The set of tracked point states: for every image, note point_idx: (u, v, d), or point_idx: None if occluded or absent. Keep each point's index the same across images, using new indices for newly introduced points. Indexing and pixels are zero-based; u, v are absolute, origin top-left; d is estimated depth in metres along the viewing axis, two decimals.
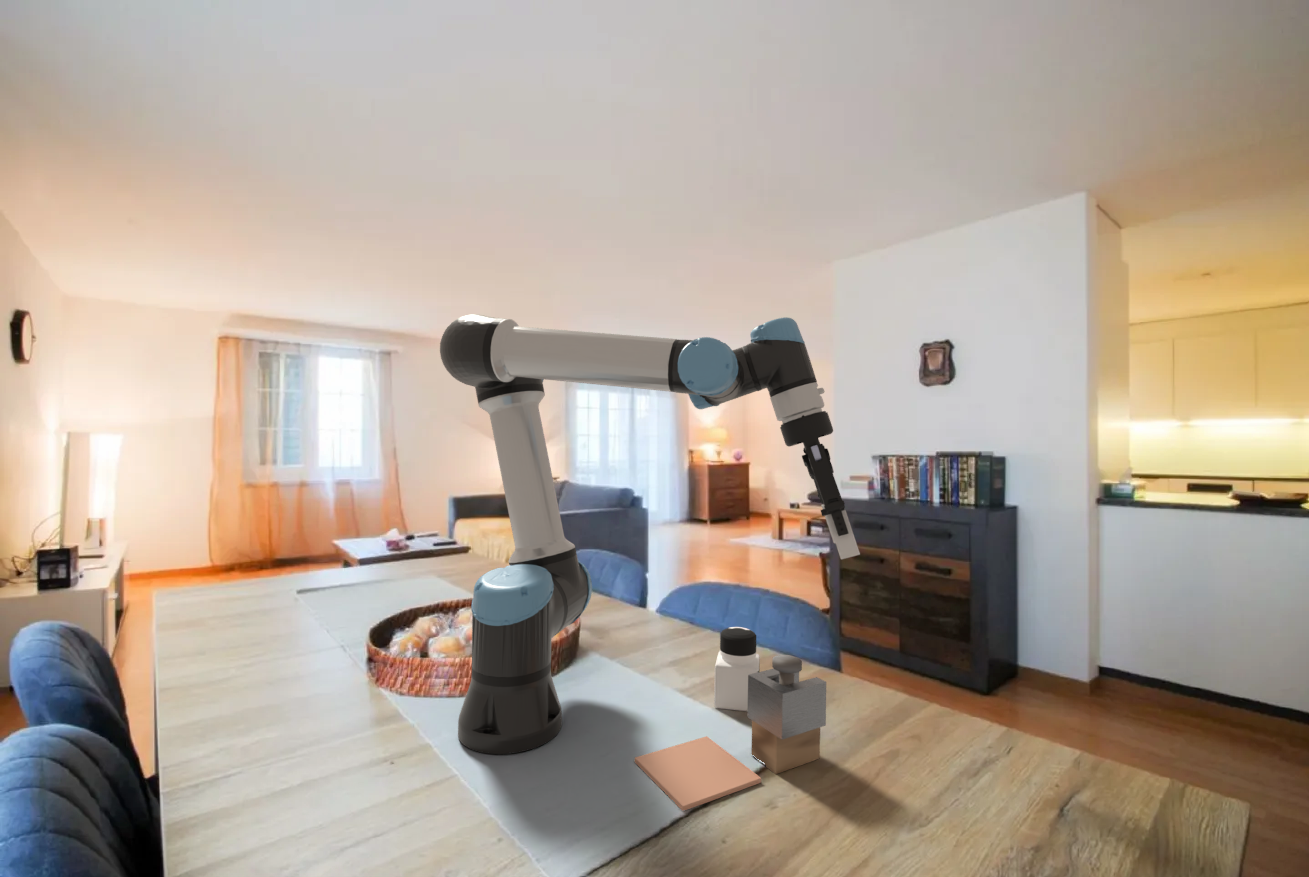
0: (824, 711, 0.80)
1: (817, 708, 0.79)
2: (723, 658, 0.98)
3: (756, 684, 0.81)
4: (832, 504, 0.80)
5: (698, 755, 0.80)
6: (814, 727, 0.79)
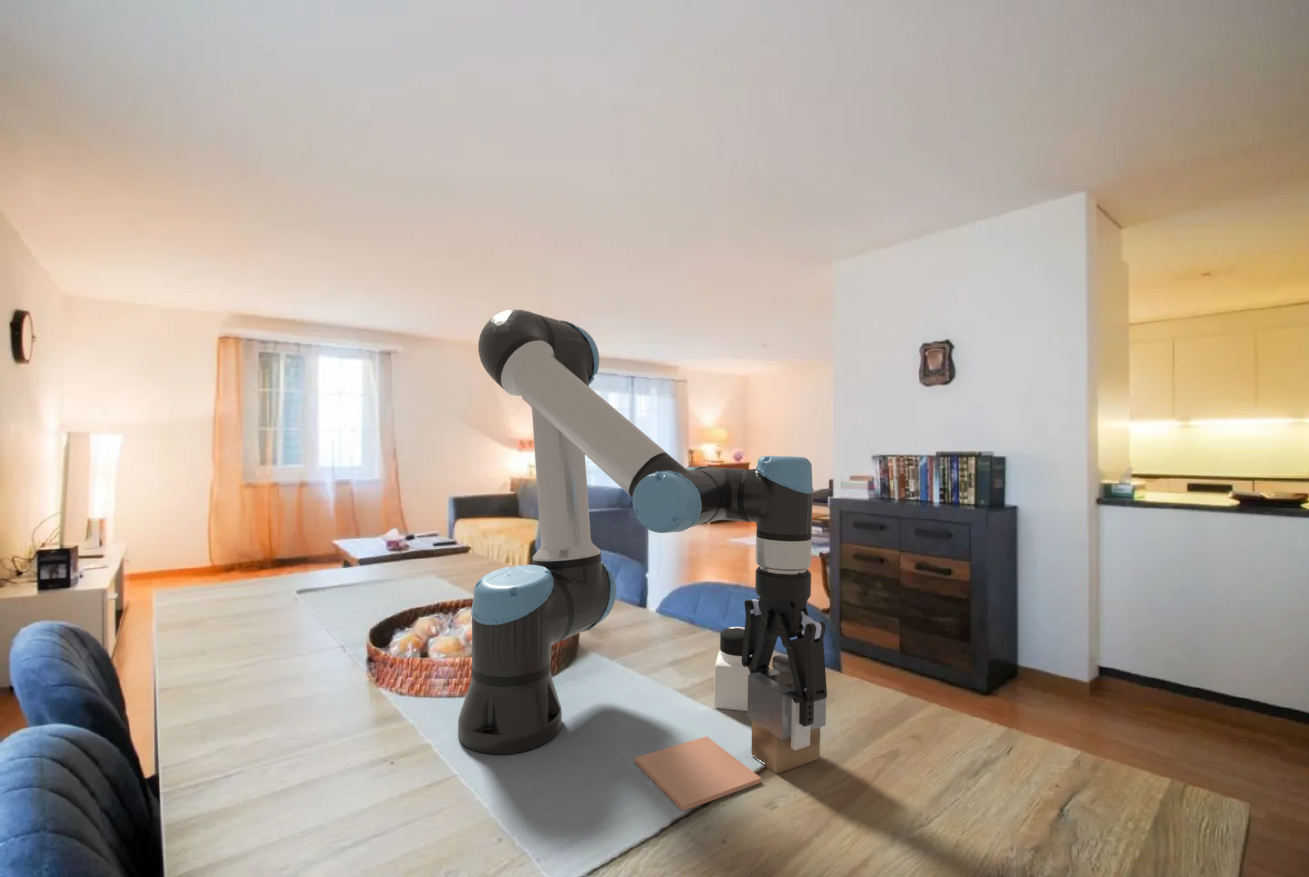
0: (824, 711, 0.80)
1: (817, 708, 0.80)
2: (723, 658, 0.98)
3: (756, 684, 0.81)
4: (818, 697, 0.75)
5: (698, 755, 0.80)
6: (814, 727, 0.79)
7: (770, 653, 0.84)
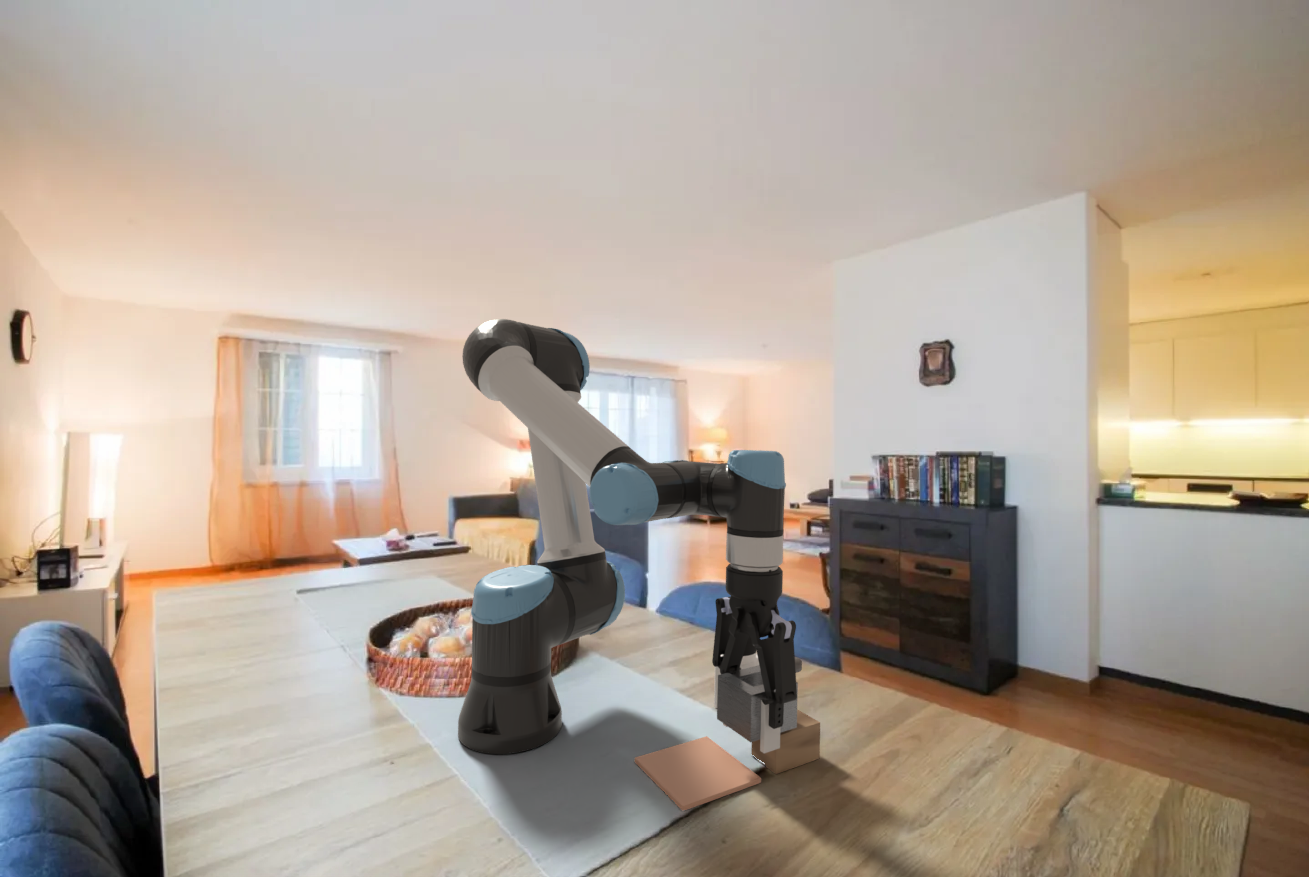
0: (795, 713, 0.78)
1: (788, 710, 0.77)
2: None
3: (726, 685, 0.78)
4: (788, 698, 0.72)
5: (698, 755, 0.80)
6: (785, 729, 0.77)
7: (741, 653, 0.81)
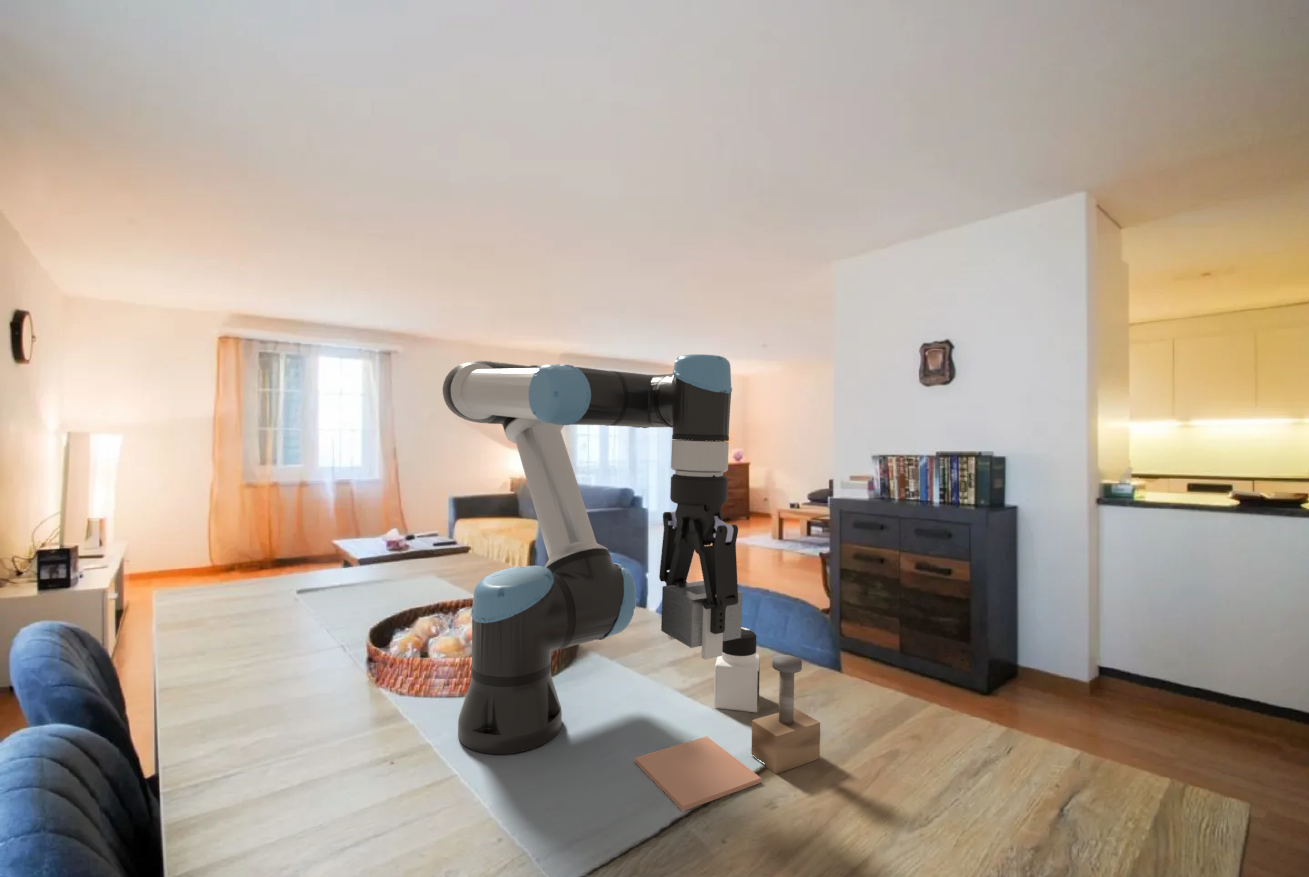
0: (739, 623, 0.77)
1: (731, 619, 0.76)
2: (723, 658, 0.98)
3: (669, 595, 0.77)
4: (728, 601, 0.71)
5: (698, 755, 0.80)
6: (728, 638, 0.76)
7: (687, 566, 0.80)
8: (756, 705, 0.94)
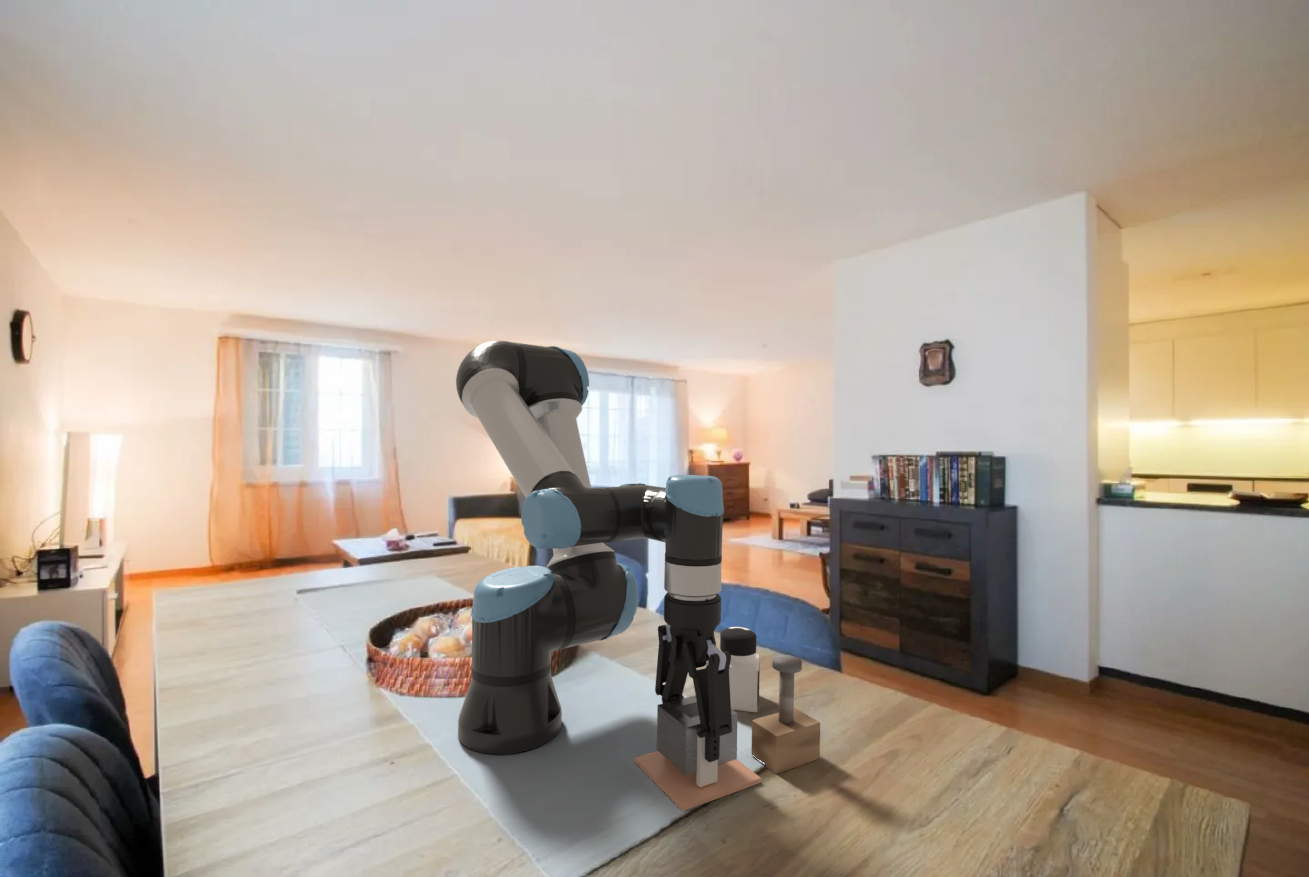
0: (735, 744, 0.76)
1: (726, 741, 0.76)
2: None
3: (664, 716, 0.77)
4: (722, 731, 0.71)
5: None
6: (723, 761, 0.75)
7: (682, 682, 0.80)
8: (756, 705, 0.94)
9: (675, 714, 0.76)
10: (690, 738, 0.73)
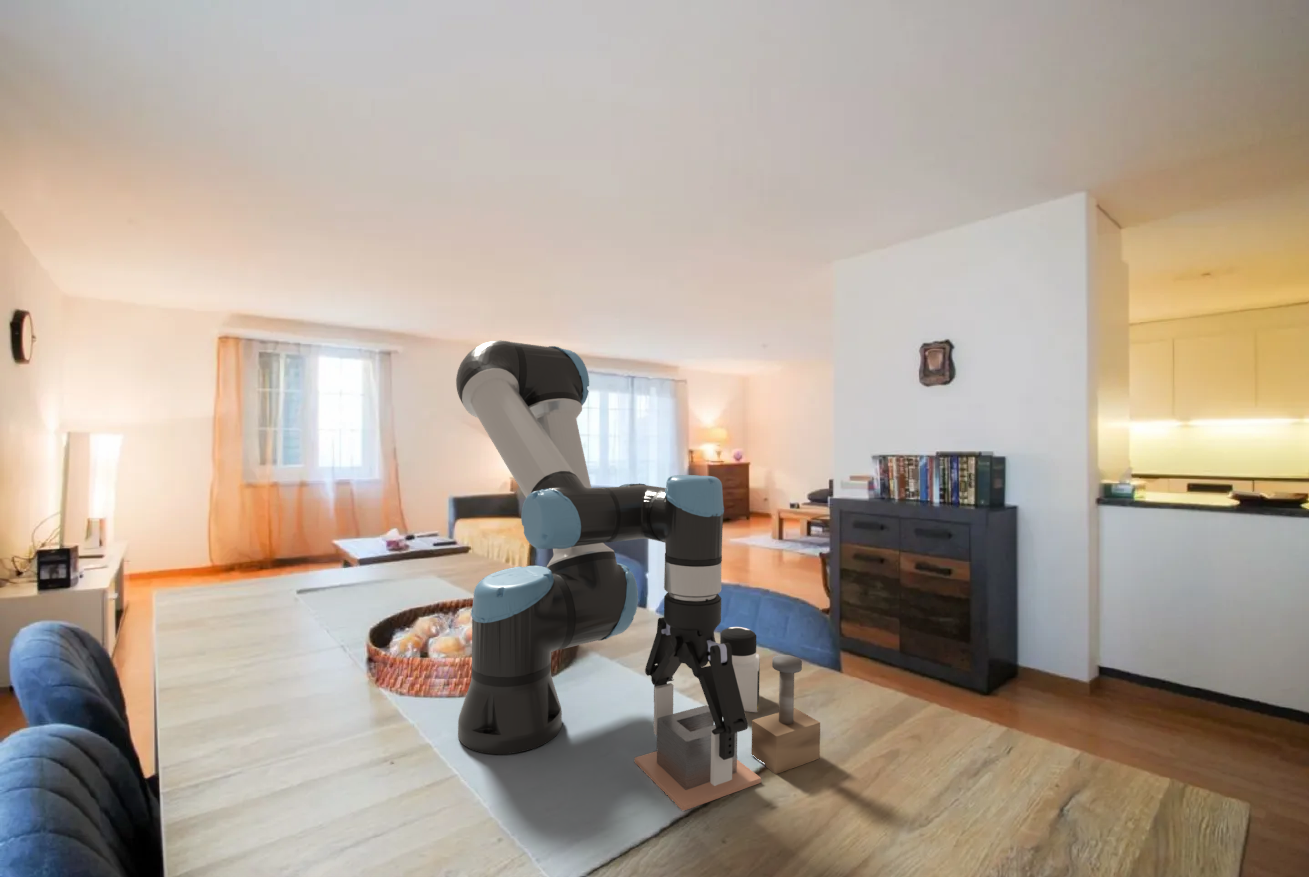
0: (735, 757, 0.76)
1: None
2: None
3: (664, 729, 0.77)
4: (737, 726, 0.68)
5: None
6: None
7: (674, 669, 0.82)
8: (756, 705, 0.94)
9: (675, 728, 0.76)
10: (690, 752, 0.73)
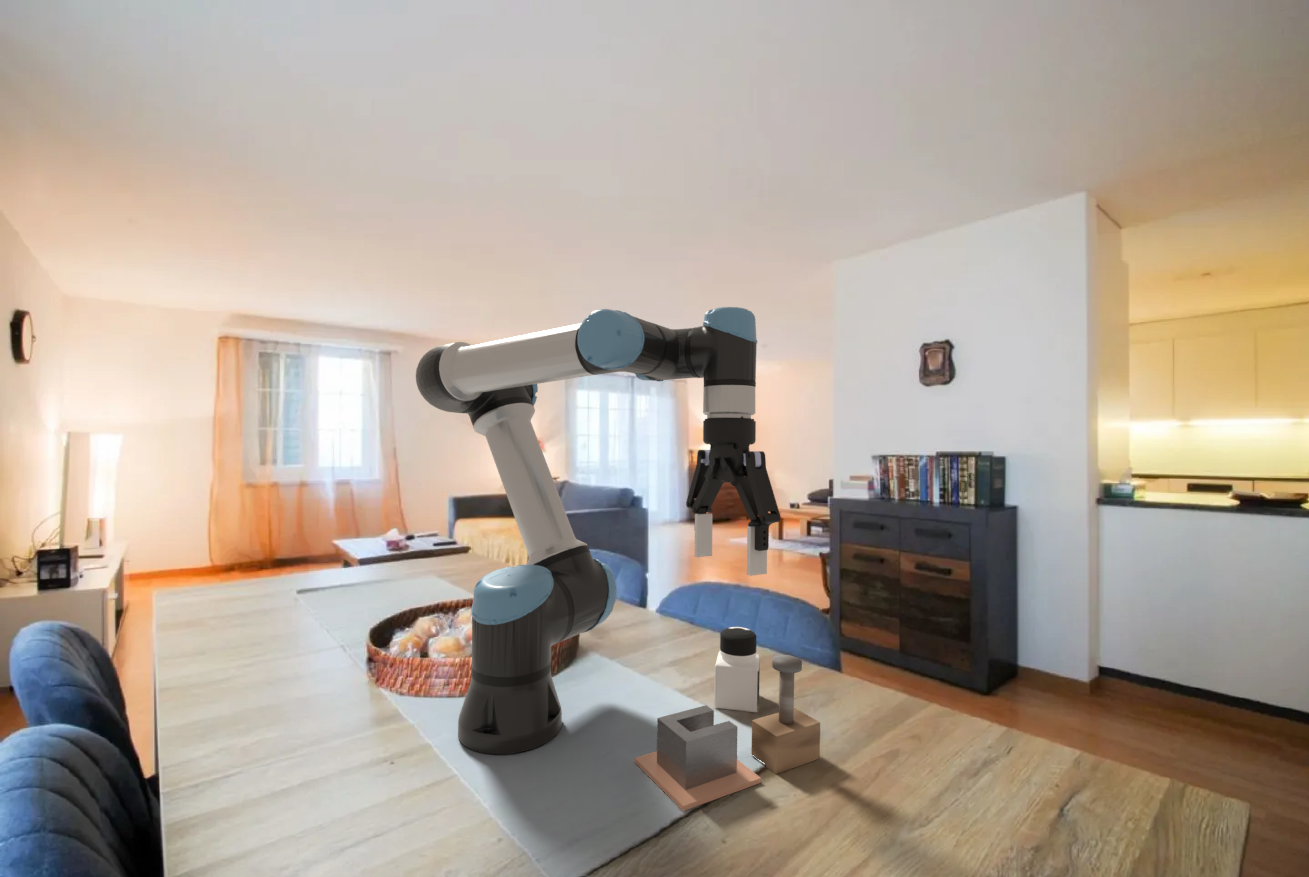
0: (735, 757, 0.76)
1: (726, 755, 0.75)
2: (723, 658, 0.98)
3: (664, 729, 0.77)
4: (771, 516, 0.75)
5: None
6: (723, 775, 0.75)
7: (713, 497, 0.89)
8: (756, 705, 0.94)
9: (675, 728, 0.76)
10: (690, 752, 0.73)
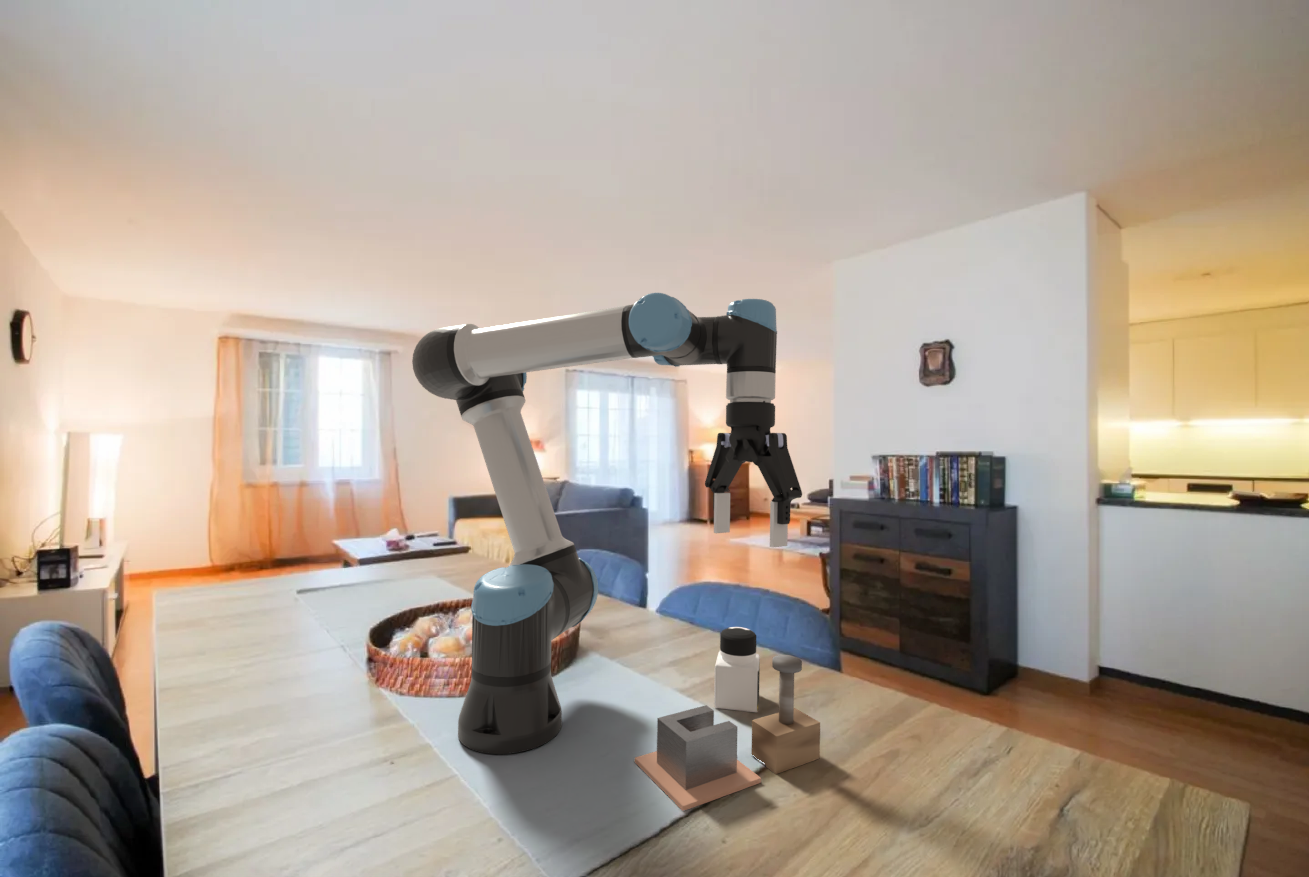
0: (735, 757, 0.76)
1: (726, 755, 0.75)
2: (723, 658, 0.98)
3: (664, 729, 0.77)
4: (794, 492, 0.82)
5: None
6: (723, 775, 0.75)
7: (732, 477, 0.95)
8: (756, 705, 0.94)
9: (675, 728, 0.76)
10: (690, 752, 0.73)
